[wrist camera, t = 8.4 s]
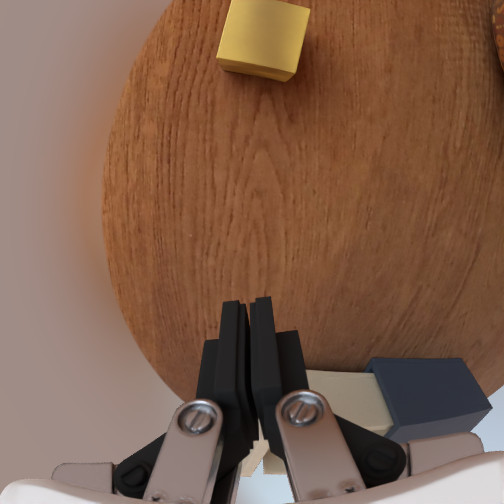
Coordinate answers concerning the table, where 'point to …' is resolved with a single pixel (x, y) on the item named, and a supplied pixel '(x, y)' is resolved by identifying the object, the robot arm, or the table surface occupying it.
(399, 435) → the cabinet
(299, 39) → the block
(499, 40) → the bowl
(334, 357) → the table surface
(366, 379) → the drawer
